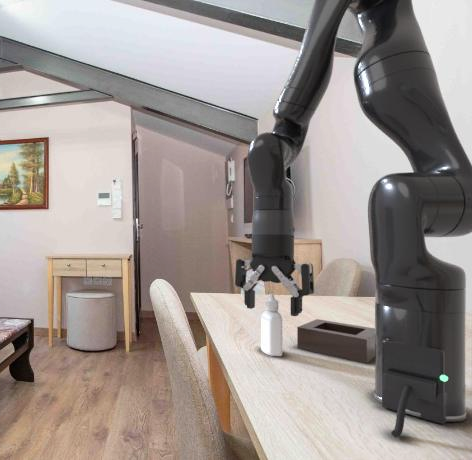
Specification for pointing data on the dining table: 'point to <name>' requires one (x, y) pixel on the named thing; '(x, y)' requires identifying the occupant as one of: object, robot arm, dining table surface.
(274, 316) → the eye dropper bottle
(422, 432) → the dining table surface
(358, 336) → the holder
